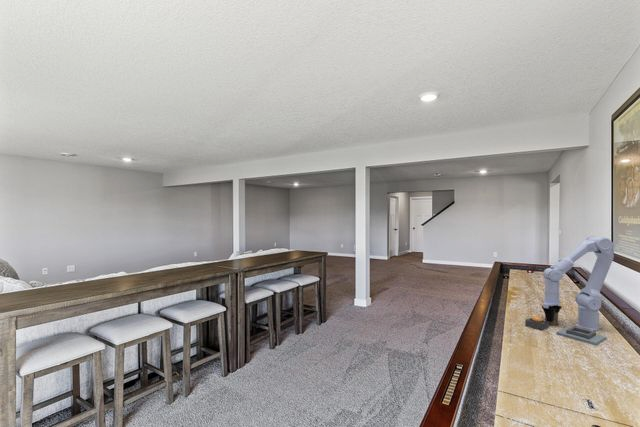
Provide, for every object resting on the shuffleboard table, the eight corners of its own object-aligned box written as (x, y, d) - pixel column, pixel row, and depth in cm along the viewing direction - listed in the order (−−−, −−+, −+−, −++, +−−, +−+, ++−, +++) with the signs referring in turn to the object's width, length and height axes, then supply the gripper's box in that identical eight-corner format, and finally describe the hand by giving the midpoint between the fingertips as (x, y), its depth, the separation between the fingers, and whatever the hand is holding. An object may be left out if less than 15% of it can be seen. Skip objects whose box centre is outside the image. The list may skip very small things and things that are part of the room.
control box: (531, 323, 157) (532, 317, 157) (548, 327, 151) (548, 321, 151) (525, 326, 153) (525, 319, 153) (541, 330, 147) (542, 324, 147)
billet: (548, 322, 159) (548, 310, 159) (557, 324, 156) (558, 312, 156) (544, 323, 157) (545, 311, 157) (554, 326, 154) (554, 313, 154)
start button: (534, 319, 155) (534, 315, 155) (543, 322, 151) (543, 318, 151) (530, 321, 152) (530, 317, 152) (539, 323, 149) (539, 319, 149)
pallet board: (567, 328, 150) (567, 323, 150) (606, 339, 138) (606, 333, 138) (556, 334, 143) (556, 328, 143) (596, 345, 131) (596, 339, 131)
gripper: (548, 289, 164) (548, 315, 164) (536, 293, 156) (535, 320, 156) (565, 292, 158) (564, 319, 158) (553, 296, 150) (552, 325, 150)
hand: (551, 320), depth 156 cm, fingers closed on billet, 4 cm apart
